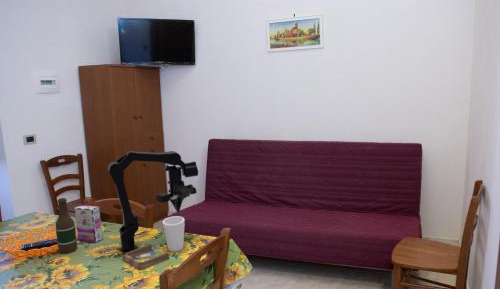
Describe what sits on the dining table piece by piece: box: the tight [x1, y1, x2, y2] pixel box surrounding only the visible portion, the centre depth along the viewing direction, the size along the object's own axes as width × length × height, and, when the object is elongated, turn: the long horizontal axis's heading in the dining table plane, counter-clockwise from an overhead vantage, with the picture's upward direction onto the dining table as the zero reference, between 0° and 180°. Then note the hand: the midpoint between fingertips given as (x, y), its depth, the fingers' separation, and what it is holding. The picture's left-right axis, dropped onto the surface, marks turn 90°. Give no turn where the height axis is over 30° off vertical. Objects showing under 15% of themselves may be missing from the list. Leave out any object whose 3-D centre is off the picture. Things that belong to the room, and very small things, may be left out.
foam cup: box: [162, 215, 186, 253], centre depth 171 cm, size 10×9×13 cm
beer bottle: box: [55, 197, 78, 255], centre depth 174 cm, size 8×8×24 cm
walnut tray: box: [121, 243, 170, 271], centre depth 163 cm, size 14×13×2 cm
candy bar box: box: [74, 204, 104, 244], centre depth 186 cm, size 11×5×16 cm, turn 68°
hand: (178, 211), depth 181 cm, fingers closed
